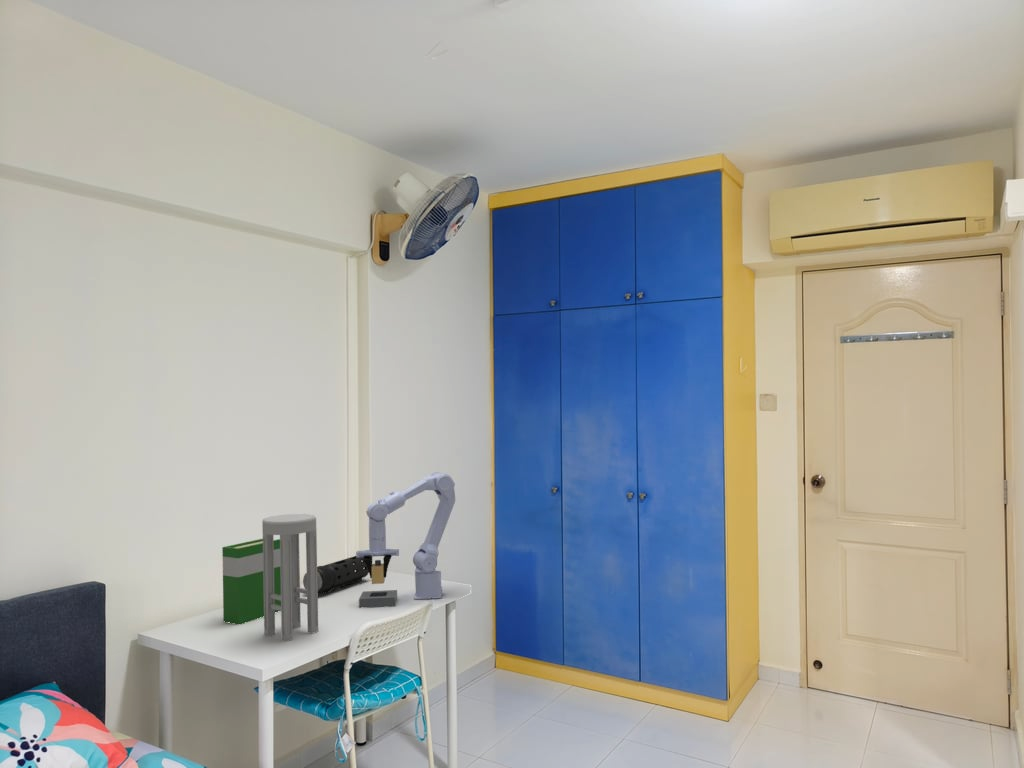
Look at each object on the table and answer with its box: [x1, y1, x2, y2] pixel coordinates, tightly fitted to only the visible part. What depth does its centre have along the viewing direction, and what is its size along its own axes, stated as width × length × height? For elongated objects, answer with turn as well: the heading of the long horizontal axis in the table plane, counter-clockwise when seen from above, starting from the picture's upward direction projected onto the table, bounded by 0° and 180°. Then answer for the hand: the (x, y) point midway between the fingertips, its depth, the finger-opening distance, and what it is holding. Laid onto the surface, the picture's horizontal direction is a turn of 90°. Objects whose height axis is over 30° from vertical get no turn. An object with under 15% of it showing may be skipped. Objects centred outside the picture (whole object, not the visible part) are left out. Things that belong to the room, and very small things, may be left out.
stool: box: [261, 513, 319, 642], centre depth 223 cm, size 16×16×35 cm
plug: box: [371, 559, 386, 585], centre depth 254 cm, size 4×4×8 cm
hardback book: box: [222, 538, 281, 625], centre depth 243 cm, size 18×7×24 cm, turn 150°
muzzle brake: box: [302, 555, 369, 595], centre depth 277 cm, size 10×28×10 cm, turn 153°
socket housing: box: [358, 589, 398, 609], centre depth 254 cm, size 12×10×3 cm
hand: (378, 577), depth 254 cm, fingers closed on plug, 4 cm apart
